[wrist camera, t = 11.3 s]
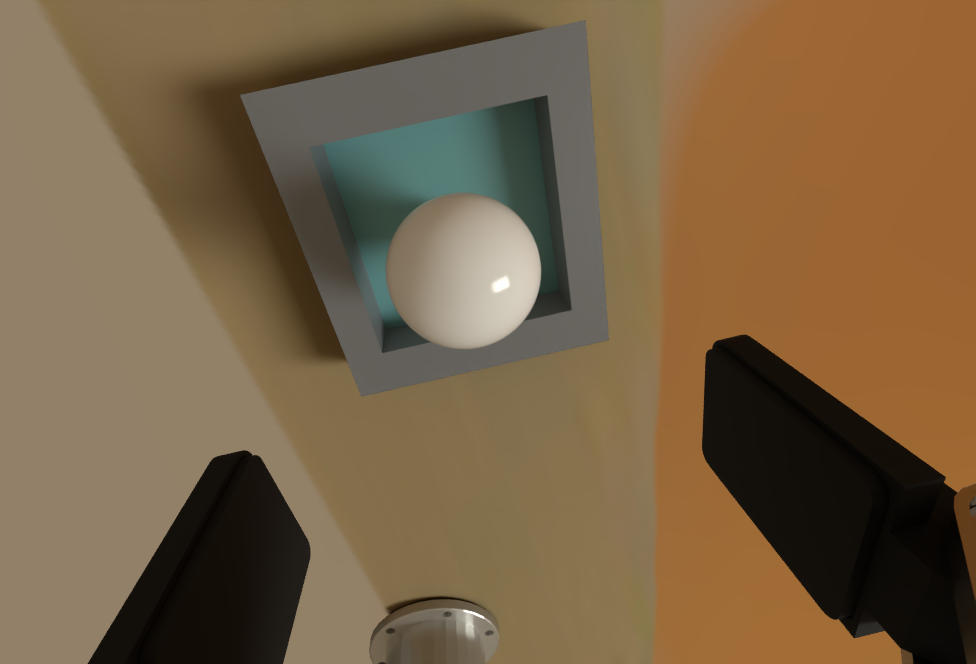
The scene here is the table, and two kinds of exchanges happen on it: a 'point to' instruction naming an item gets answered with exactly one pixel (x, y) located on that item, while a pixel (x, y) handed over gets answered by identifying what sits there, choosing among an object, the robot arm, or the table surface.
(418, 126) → the housing
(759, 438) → the robot arm
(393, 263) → the lightbulb
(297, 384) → the table surface
